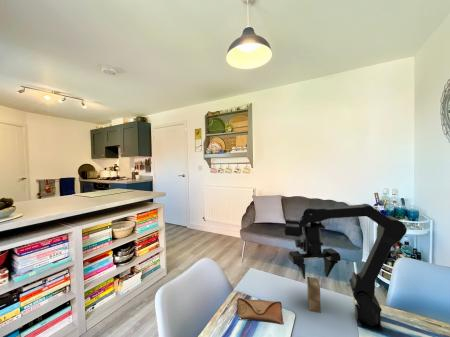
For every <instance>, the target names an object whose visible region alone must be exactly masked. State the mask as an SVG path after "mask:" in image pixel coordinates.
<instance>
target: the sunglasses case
mask: <svg viewBox="0 0 450 337" xmlns="http://www.w3.org/2000/svg"><path fill="white" fill-rule="evenodd" d="M236 302H237V304H236V307H237V308H236V316H237V315H238V316H239V318H241V319H251V320H250V321H253V320H255V322H256V321H257V322H267V323H272V324H273V323H274V324H279V325H284V324H285V322H284V318H283V308H282V302H281V301H272V300H261V299H251V298H250V299H249V298H248V299H247V298H241V297H238V298H237V299H236Z"/></svg>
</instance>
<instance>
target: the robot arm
mask: <svg viewBox="0 0 450 337" xmlns="http://www.w3.org/2000/svg"><path fill="white" fill-rule="evenodd" d="M357 217H361V218H362V217H367V218H369V219H370V220H372V221H373V222H374V223H376V224H377V227H376V239H375V241H374V243H373V245H372V247H371V250H370V251H369V255H368V256H367V258H366V259H365V263H364V265H363V267H362V269H361V271H360V272H358V273H356V272H352V275H351V277H350V279H349V280H348V281H349V284H350V285H349V286H350V290H351V292H352V295H353V298H354V300H355V301H356V304H354V311H355V312H354V315H355V317H356V319H357V322H358V323H359V325H360V326H361V327H363V328H367V329H371V330H376V331H381V332H383V331H384V327H383V325H382V322H381V318H382V317H381V315H382V314H381V312H382V311H383V310H382V307H381V305H380V303H379V301H378V299H377V297H376V295H375V293H376V292H375V291H376V280H377V278H378V276H379V275H380V272H381V270H382V269H383V266H384V265H385V262H386V260H387V258H388V256H389V254H390V252H391V249H392V248H393V246H395V245H396V244H398V243H399V242H400V241H401V240H402V239H403V238H404V236H406V234H407V231H408V229H407V227H406V224H404V223H403V222H402V221H400V220H399V219H398V218H396V217H393V216H392V215H385V214H384V213H382V212H380V211H379V210H377V209H376V208H374V207H373V206H372V205H370V204H369V203H361V204H353V205H342V206H341V205H340V206H338V205H337V206H328V207H327V206H321V205H320V206H319V205H307V206H305V207H304V209H303V213H302V215H301V217H300V218H299V220H298V219H289V218H288V219H285V227H284V235H285V237H291V238H301V237H302V236H304V238H303V241H302V240H301V239H295V240H294V243H295V247H296V248H298V249H300V250H302V252H304V253H301V252H300V251H299V250H293V251H289V252H288V254H287V255H288V259H289V260H290V261H291V263H292V264H293V265H295V266H297V267H298V269H299V271H300V275H301V277H302V279H303V280H306V264H305V260H311V259H323V262H324V263H323V264H324V276H325V277H326V278H329V275H330V273H331V272H332V270H333V269H334V267H335V266H336V265H337V264H338V263H339V262H341V261H342V259H341V258H342V257H341V254H340V252H338V251H336V250H335V249H334V248H332V247H331V248H330V247H329V248H323V249H322V246H324V243H323V242H322V241H321V240H322V238H321V229H326V225H325V224H324V223H323V221H326V220H330V219H339V218H340V219H342V218H344V219H345V218H357Z"/></svg>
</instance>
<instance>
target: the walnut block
mask: <svg viewBox="0 0 450 337" xmlns="http://www.w3.org/2000/svg"><path fill="white" fill-rule="evenodd" d="M306 278H307V279H306V280H307V281H306V283H307V284H306V285H307V302H308V303H307V304H308V311H309V312H314V313H320V314H321V313H322V311H321V309H322V308H321V286H320V282H319V279H318V277H311V276H307V277H306Z"/></svg>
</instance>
